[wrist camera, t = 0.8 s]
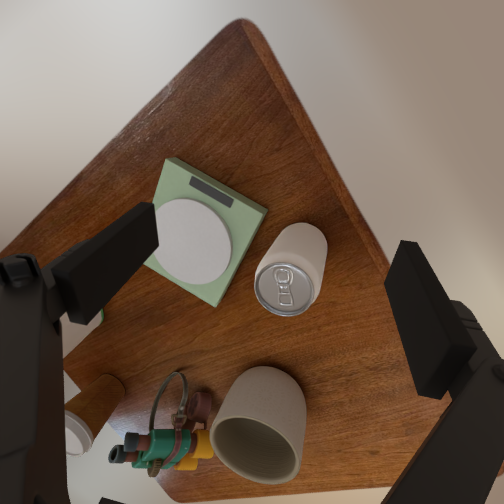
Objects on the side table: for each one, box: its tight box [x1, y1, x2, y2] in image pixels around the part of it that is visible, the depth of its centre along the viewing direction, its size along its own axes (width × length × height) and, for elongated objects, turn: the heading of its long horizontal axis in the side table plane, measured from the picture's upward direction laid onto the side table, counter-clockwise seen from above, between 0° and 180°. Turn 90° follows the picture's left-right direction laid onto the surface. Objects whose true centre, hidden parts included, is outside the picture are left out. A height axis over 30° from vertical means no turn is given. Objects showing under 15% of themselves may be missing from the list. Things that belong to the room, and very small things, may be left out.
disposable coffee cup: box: [65, 374, 125, 457], centre depth 56 cm, size 10×10×12 cm
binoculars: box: [108, 372, 214, 477], centre depth 49 cm, size 14×14×15 cm
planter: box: [210, 366, 307, 484], centre depth 43 cm, size 12×12×11 cm
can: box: [254, 223, 327, 316], centre depth 32 cm, size 6×6×12 cm
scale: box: [143, 157, 268, 307], centre depth 40 cm, size 16×14×3 cm
